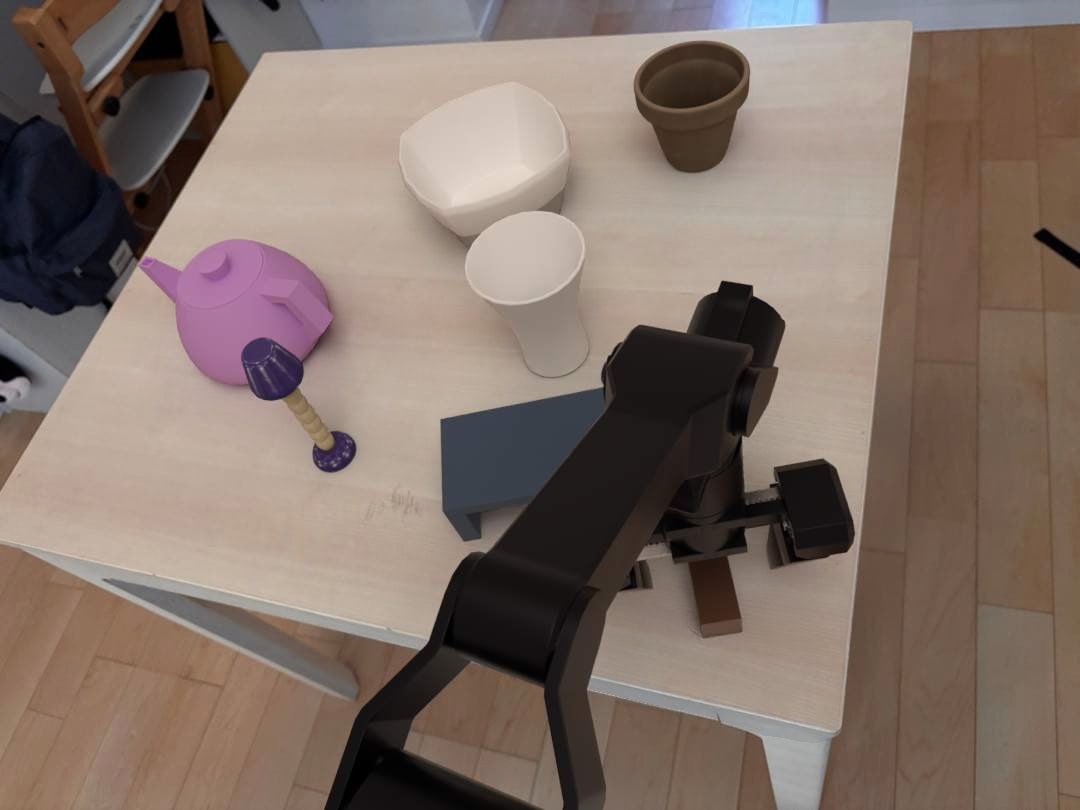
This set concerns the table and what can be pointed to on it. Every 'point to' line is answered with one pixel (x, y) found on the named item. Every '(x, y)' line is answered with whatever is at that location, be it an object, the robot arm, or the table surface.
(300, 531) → the table surface
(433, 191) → the bowl
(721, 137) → the flower pot
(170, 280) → the teapot
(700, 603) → the block
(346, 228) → the table surface
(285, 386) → the toy lamp
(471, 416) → the shelf
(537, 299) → the cup
